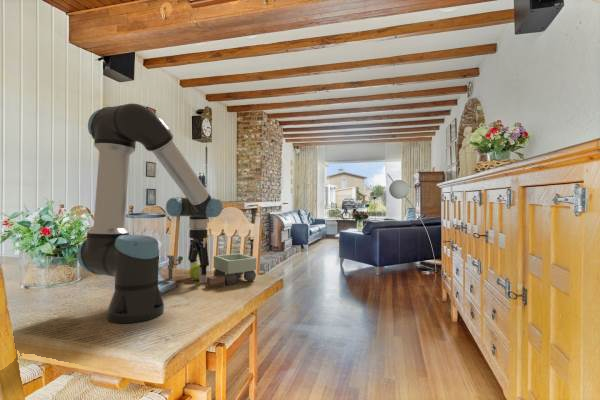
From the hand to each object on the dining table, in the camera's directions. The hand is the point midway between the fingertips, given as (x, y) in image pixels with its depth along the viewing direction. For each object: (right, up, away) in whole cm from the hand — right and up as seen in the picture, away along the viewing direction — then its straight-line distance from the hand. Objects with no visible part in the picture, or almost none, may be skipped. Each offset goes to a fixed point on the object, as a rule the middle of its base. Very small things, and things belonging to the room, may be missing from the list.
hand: (197, 279), depth 139 cm
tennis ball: (0, 0, 0) cm, 0 cm away
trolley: (+16, 0, +1) cm, 16 cm away
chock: (+11, 0, -10) cm, 15 cm away
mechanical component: (-13, 0, +2) cm, 13 cm away
